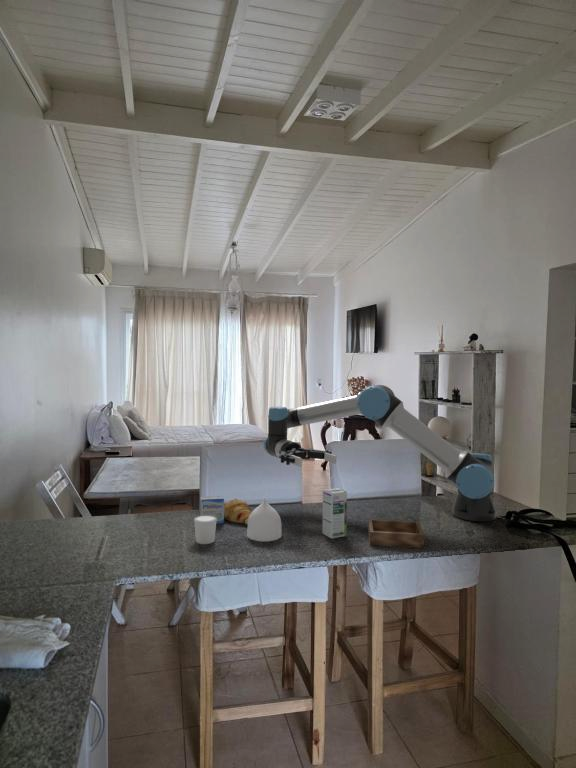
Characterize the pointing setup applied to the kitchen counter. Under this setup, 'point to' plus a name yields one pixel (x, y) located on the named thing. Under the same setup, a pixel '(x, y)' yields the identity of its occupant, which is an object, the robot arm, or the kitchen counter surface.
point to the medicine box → (213, 507)
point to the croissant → (237, 511)
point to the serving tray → (395, 533)
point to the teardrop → (264, 523)
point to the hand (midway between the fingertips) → (318, 461)
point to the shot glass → (205, 529)
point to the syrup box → (335, 513)
